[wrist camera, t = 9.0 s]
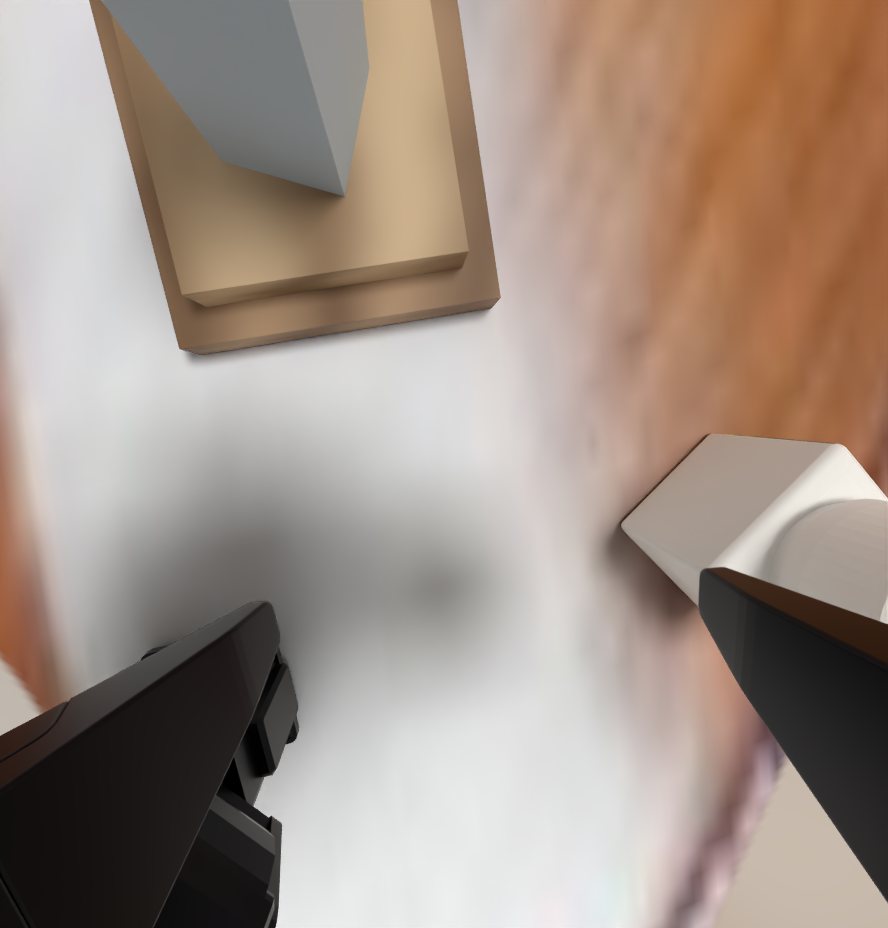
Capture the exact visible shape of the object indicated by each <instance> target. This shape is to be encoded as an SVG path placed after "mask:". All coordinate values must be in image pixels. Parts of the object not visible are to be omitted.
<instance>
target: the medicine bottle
mask: <svg viewBox="0 0 888 928" xmlns="http://www.w3.org/2000/svg"><path fill="white" fill-rule="evenodd" d="M621 527H622V529H623V531H624V532H625V533H626V534H627V535H628V536H629V537H630V538H631V539H632V540H633V541H634V542H635V543H636V544H637V545H638V546H639V547H640V548H641V549H642V550H643V551H644V552H645V553H646V554H647V555H648V556H649V557H650V558H651V559H652V560H653V561H654V562H655V563H656V564H657V565H658V566H659V567H660V568H661V569H662V570H663V571H664V572H665V573H666V574H667V575H668V576H669V578H670V579H671V580H672V581H673V582H674V583H675V584H676V585H677V586H678V587H679V588H680V589H681V590H682V591H683V592H684V593H685V594H686V595H687V596H688V597H689V598H690V599H691V600H692V601H693V602H694V603H695V604H696V605H697V606H698V598H699V576H700V572H701V571H702V570H703V569H704V568H713V567H726V568H729V569H732V570H735V571H738V572H741V573H743V574H746V575H749V576H752V577H755V578H758V579H761V580H763V581H766V582H769V583H772V584H775V585H778V586H780V587H783V588H786V589H789V590H792V591H795V592H798V593H800V594H803V595H806V596H809V597H812V598H815V599H818V600H820V601H823V602H826V603H829V604H832V605H835V606H838V607H840V608H843V609H846V610H849V611H852V612H855V613H858V614H860V615H863V616H866V617H869V618H872V619H875V620H878V621H880V622H883V623H886V624H888V498H887V497H886V496H885V495H884V493H883V492H882V491H881V490H880V489H879V487H878V486H877V485H876V484H875V482H874V481H873V480H872V479H871V478H870V476H869V475H868V474H867V473H866V471H865V470H864V469H863V468H862V467H861V465H860V464H859V463H858V462H857V460H856V459H855V458H854V457H853V456H852V454H851V453H850V452H849V451H848V449H847V448H846V447H844V446H843V445H840V444H836V443H824V442H813V441H801V440H789V439H777V438H765V437H754V436H742V435H730V434H718V433H713V434H710V435H708V436H707V437H706V438H705V439H704V440H703V441H702V442H701V443H700V444H699V445H698V446H697V447H696V448H695V449H694V450H693V451H692V452H691V453H690V454H689V455H688V456H687V457H686V458H685V459H684V460H683V461H682V462H681V463H680V464H679V465H678V466H677V467H676V468H675V469H674V470H673V471H672V472H671V473H670V474H669V475H668V476H667V477H666V478H665V479H664V480H663V481H662V482H661V483H660V484H659V486H658V487H657V488H656V489H655V490H654V491H653V492H652V493H651V494H650V495H649V496H648V497H647V498H646V499H645V500H644V501H643V502H642V503H641V504H640V505H639V506H638V507H637V508H636V509H635V510H634V511H633V512H632V513H631V514H630V515H629V516H628V517H627V518H626V519H625V520H624V521H623V522H622V524H621Z"/></svg>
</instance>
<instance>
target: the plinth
mask: <svg viewBox="0 0 888 928" xmlns="http://www.w3.org/2000/svg"><path fill="white" fill-rule="evenodd" d="M89 1H90V5H91V9H92V13H93V17H94V21H95V25H96V28H97V32H98V36H99V40H100V44H101V48H102V52H103V55H104V59H105V63H106V67H107V71H108V75H109V79H110V83H111V86H112V90H113V94H114V98H115V102H116V106H117V110H118V113H119V117H120V121H121V125H122V129H123V133H124V137H125V140H126V144H127V148H128V152H129V156H130V160H131V164H132V168H133V171H134V175H135V179H136V183H137V187H138V191H139V195H140V198H141V202H142V206H143V210H144V214H145V218H146V222H147V226H148V229H149V233H150V237H151V241H152V245H153V249H154V253H155V256H156V260H157V264H158V268H159V272H160V276H161V280H162V283H163V287H164V291H165V295H166V299H167V303H168V307H169V311H170V314H171V318H172V322H173V326H174V330H175V334H176V338H177V341H178V345H179V349H181V350H185V351H189V352H193V353H197V354H201V355H204V354H210V353H216V352H222V351H228V350H235V349H241V348H247V347H253V346H259V345H265V344H272V343H278V342H284V341H290V340H296V339H303V338H309V337H315V336H321V335H327V334H334V333H340V332H346V331H352V330H358V329H364V328H371V327H377V326H383V325H389V324H395V323H402V322H408V321H414V320H420V319H426V318H432V317H439V316H445V315H451V314H457V313H463V312H470V311H476V310H482V309H488V308H492V307H493V306H494V305H495V303H496V302H497V301H498V300H499V299H500V298H501V297H500V290H499V283H498V277H497V270H496V263H495V256H494V249H493V242H492V235H491V229H490V222H489V215H488V208H487V201H486V194H485V188H484V181H483V174H482V167H481V160H480V153H479V146H478V140H477V133H476V126H475V119H474V112H473V105H472V99H471V92H470V85H469V78H468V71H467V64H466V57H465V51H464V44H463V37H462V30H461V23H460V16H459V10H458V3H457V0H362V2H363V11H364V21H365V30H366V40H367V49H368V59H369V68H370V69H369V74H368V79H367V84H366V89H365V95H364V100H363V105H362V110H361V115H360V120H359V126H358V131H357V136H356V141H355V146H354V151H353V157H352V162H351V167H350V172H349V177H348V182H347V188H346V193H345V197H344V196H341V195H337V194H334V193H330V192H327V191H323V190H320V189H317V188H313V187H310V186H306V185H303V184H299V183H296V182H292V181H289V180H285V179H282V178H278V177H275V176H271V175H268V174H265V173H261V172H258V171H254V170H251V169H247V168H244V167H240V166H237V165H233V164H230V163H226V162H223V161H221V160H220V159H219V157H218V156H217V155H216V153H215V152H214V151H213V149H212V148H211V147H210V145H209V144H208V143H207V141H206V140H205V139H204V137H203V136H202V135H201V133H200V132H199V131H198V129H197V128H196V127H195V125H194V124H193V123H192V121H191V120H190V119H189V117H188V116H187V115H186V113H185V112H184V111H183V109H182V108H181V107H180V105H179V104H178V103H177V101H176V100H175V99H174V97H173V96H172V95H171V93H170V92H169V91H168V89H167V88H166V87H165V85H164V84H163V83H162V81H161V80H160V79H159V77H158V76H157V75H156V73H155V72H154V71H153V69H152V68H151V67H150V65H149V64H148V63H147V61H146V60H145V58H144V57H143V56H142V54H141V53H140V52H139V50H138V49H137V48H136V46H135V45H134V44H133V42H132V41H131V40H130V38H129V37H128V36H127V34H126V33H125V32H124V30H123V29H122V28H121V26H120V25H119V24H118V22H117V21H116V20H115V18H114V17H113V16H112V14H111V13H110V12H109V10H108V9H107V8H106V6H105V5H104V4H103V2H102V1H101V0H89Z"/></svg>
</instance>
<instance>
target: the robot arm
mask: <svg viewBox="0 0 888 928" xmlns="http://www.w3.org/2000/svg"><path fill="white" fill-rule="evenodd" d="M698 607H699V612H700V615H701V617H702V619H703V621H704V623H705V625H706V627H707V628H708V630H709V632H710V634H711V636H712V638H713V639H714V641H715V643H716V645H717V647H718V649H719V650H720V652H721V654H722V656H723V658H724V660H725V661H726V663H727V665H728V667H729V669H730V670H731V672H732V674H733V676H734V678H735V679H736V681H737V683H738V684H739V686H740V688H741V689H742V691H743V692H744V694H745V695H746V697H747V699H748V700H749V702H750V703H751V704H752V706H753V707H754V709H755V710H756V712H757V713H758V715H759V716H760V718H761V719H762V720H763V722H764V723H765V725H766V726H767V728H768V729H769V731H770V732H771V734H772V735H773V736H774V738H775V739H776V741H777V742H778V744H779V745H780V747H781V748H782V750H783V751H784V752H785V754H786V755H787V757H788V758H789V760H790V761H791V763H792V764H793V766H794V767H795V768H796V770H797V771H798V773H799V774H800V776H801V777H802V779H803V780H804V782H805V783H806V784H807V786H808V787H809V789H810V790H811V792H812V793H813V794H814V796H815V798H816V799H817V801H818V802H819V803H820V805H821V806H822V808H823V809H824V811H825V812H826V813H827V815H828V817H829V818H830V819H831V821H832V822H833V824H834V825H835V827H836V828H837V830H838V831H839V833H840V834H841V835H842V837H843V838H844V840H845V841H846V843H847V844H848V846H849V847H850V848H851V850H852V852H853V853H854V854H855V856H856V857H857V859H858V860H859V862H860V863H861V865H862V866H863V867H864V869H865V870H866V872H867V873H868V875H869V876H870V878H871V879H872V881H873V882H874V884H875V885H876V886H877V888H878V889H879V891H880V892H881V893H882V895H883V896H884V898H885V900H886V901H887V902H888V624H886V623H883V622H880V621H878V620H875V619H872V618H869V617H866V616H863V615H860V614H858V613H855V612H852V611H849V610H846V609H843V608H840V607H838V606H835V605H832V604H829V603H826V602H823V601H820V600H818V599H815V598H812V597H809V596H806V595H803V594H800V593H798V592H795V591H792V590H789V589H786V588H783V587H780V586H778V585H775V584H772V583H769V582H766V581H763V580H761V579H758V578H755V577H752V576H749V575H746V574H743V573H741V572H738V571H735V570H732V569H729V568H726V567H713V568H704V569H703V570H702V571H701V572H700V576H699V598H698ZM279 642H280V633H279V628H278V625H277V621H276V617H275V613H274V609H273V606H272V604H271V603H270V602H268V601H258V602H250V603H248V604H246V605H244V606H242V607H241V608H239V609H237V610H235V611H233V612H231V613H229V614H227V615H226V616H224V617H222V618H220V619H218V620H216V621H214V622H213V623H211V624H209V625H207V626H205V627H203V628H201V629H200V630H198V631H196V632H194V633H192V634H190V635H188V636H186V637H185V638H183V639H181V640H179V641H177V642H175V643H173V644H172V645H169V646H164V647H159V648H155V649H151V650H149V651H148V652H147V653H146V654H145V655H144V656H143V657H142V659H141V661H140V662H138V663H136V664H134V665H132V666H131V667H129V668H127V669H125V670H123V671H121V672H119V673H118V674H116V675H114V676H112V677H110V678H108V679H106V680H104V681H103V682H101V683H99V684H97V685H95V686H93V687H91V688H90V689H88V690H86V691H84V692H82V693H80V694H78V695H77V696H75V697H73V698H71V699H70V701H69V702H68V701H66V702H63V703H61V704H60V705H58V706H56V707H54V708H52V709H50V710H48V711H47V712H45V713H43V714H41V715H39V716H37V717H35V718H33V719H31V720H29V721H28V722H26V723H24V724H22V725H20V726H18V727H16V728H14V729H12V730H10V731H9V732H7V733H5V734H3V735H1V736H0V928H275V927H276V923H277V916H278V908H279V884H280V860H281V835H282V823H281V822H279V821H278V820H277V819H275V818H274V817H272V816H270V817H269V818H268V817H267V816H265V815H264V814H263V813H261V812H260V811H259V810H257V809H256V808H254V807H253V806H254V803H255V801H256V798H257V795H258V793H259V790H260V787H261V785H262V782H263V779H264V777H266V776H271V775H273V773H274V772H275V770H276V769H277V767H278V764H279V761H280V758H281V755H282V753H283V750H284V747H285V744H289V743H292V742H293V741H295V740H296V737H297V735H298V732H299V726H298V722H297V718H296V713H297V710H298V703H297V699H296V695H295V691H294V687H293V683H292V679H291V675H290V671H289V667H288V666H287V665H286V664H285V663H283V662H282V658H281V654H280V650H279ZM290 732H291V734H289V733H290Z"/></svg>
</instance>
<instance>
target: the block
mask: <svg viewBox="0 0 888 928" xmlns="http://www.w3.org/2000/svg"><path fill="white" fill-rule="evenodd" d="M101 1H102V2H103V4H104V5H105V6H106V8H107V9H108V10H109V12H110V13H111V14H112V16H113V17H114V18H115V20H116V21H117V22H118V24H119V25H120V26H121V28H122V29H123V30H124V32H125V33H126V34H127V36H128V37H129V38H130V40H131V41H132V42H133V44H134V45H135V46H136V48H137V49H138V50H139V52H140V53H141V54H142V56H143V57H144V58H145V60H146V61H147V63H148V64H149V65H150V67H151V68H152V69H153V71H154V72H155V73H156V75H157V76H158V77H159V79H160V80H161V81H162V83H163V84H164V85H165V87H166V88H167V89H168V91H169V92H170V93H171V95H172V96H173V97H174V99H175V100H176V101H177V103H178V104H179V105H180V107H181V108H182V109H183V111H184V112H185V113H186V115H187V116H188V117H189V119H190V120H191V121H192V123H193V124H194V125H195V127H196V128H197V129H198V131H199V132H200V133H201V135H202V136H203V137H204V139H205V140H206V141H207V143H208V144H209V145H210V147H211V148H212V149H213V151H214V152H215V153H216V155H217V156H218V157H219V159H220V160H221V161H223V162H226V163H230V164H233V165H237V166H240V167H244V168H247V169H251V170H254V171H258V172H261V173H265V174H268V175H271V176H275V177H278V178H282V179H285V180H289V181H292V182H296V183H299V184H303V185H306V186H310V187H313V188H317V189H320V190H323V191H327V192H330V193H334V194H337V195H341V196H344V197H345V193H346V188H347V182H348V177H349V172H350V167H351V162H352V157H353V151H354V146H355V141H356V136H357V131H358V126H359V120H360V115H361V110H362V105H363V100H364V95H365V89H366V84H367V79H368V74H369V69H370V68H369V59H368V49H367V40H366V30H365V21H364V11H363V2H362V0H101Z"/></svg>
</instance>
